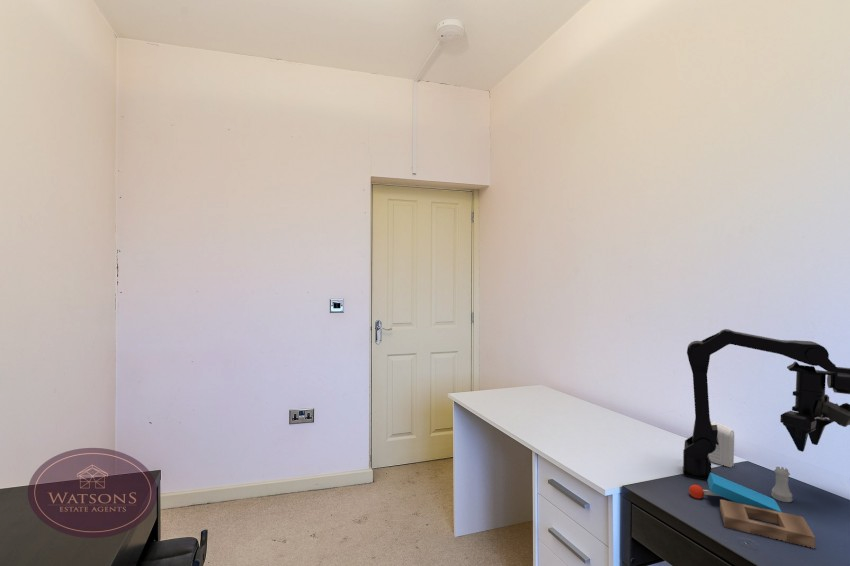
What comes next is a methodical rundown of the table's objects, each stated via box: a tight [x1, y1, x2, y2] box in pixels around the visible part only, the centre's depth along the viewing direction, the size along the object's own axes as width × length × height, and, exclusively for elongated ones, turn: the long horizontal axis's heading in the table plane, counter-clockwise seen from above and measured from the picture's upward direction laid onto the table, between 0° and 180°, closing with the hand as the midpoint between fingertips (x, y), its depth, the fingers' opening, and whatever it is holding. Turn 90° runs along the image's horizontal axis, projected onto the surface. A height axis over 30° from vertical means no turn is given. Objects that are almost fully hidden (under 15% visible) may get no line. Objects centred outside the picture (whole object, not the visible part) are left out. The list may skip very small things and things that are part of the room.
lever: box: [688, 472, 783, 513], centre depth 109 cm, size 7×7×18 cm
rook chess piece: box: [770, 466, 793, 503], centre depth 112 cm, size 4×4×8 cm
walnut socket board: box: [719, 498, 816, 549], centre depth 98 cm, size 16×9×2 cm, turn 61°
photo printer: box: [708, 421, 735, 468], centre depth 135 cm, size 10×4×12 cm, turn 35°
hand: (807, 447), depth 112 cm, fingers open, 9 cm apart
